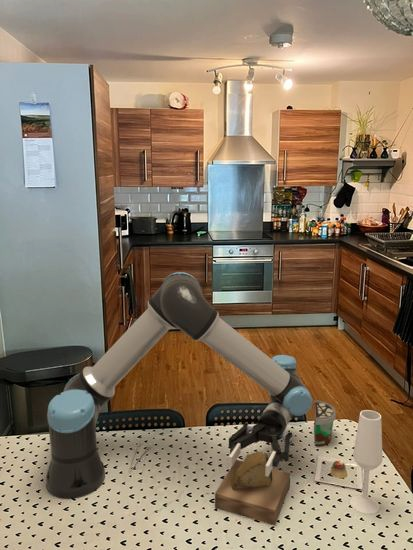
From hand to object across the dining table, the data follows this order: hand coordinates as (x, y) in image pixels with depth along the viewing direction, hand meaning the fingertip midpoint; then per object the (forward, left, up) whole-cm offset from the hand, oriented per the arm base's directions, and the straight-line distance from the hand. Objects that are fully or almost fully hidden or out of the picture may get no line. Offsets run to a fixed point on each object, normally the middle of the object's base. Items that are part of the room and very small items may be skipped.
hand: (248, 466), depth 110 cm
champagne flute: (+26, +13, -12) cm, 31 cm away
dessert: (+18, +23, -12) cm, 32 cm away
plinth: (0, +5, -11) cm, 12 cm away
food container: (+12, +39, -12) cm, 42 cm away
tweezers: (-36, +6, -12) cm, 38 cm away
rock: (-1, +4, -8) cm, 9 cm away
